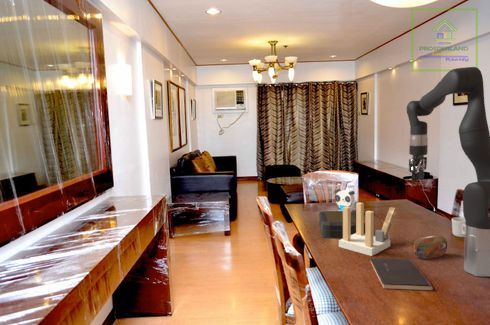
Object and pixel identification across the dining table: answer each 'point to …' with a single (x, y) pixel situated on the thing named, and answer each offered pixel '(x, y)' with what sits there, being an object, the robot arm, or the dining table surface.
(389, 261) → the hardcover book
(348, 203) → the panda figurine
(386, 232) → the leg
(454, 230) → the cup
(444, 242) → the tin
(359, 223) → the stool
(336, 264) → the dining table surface
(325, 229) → the cash box
